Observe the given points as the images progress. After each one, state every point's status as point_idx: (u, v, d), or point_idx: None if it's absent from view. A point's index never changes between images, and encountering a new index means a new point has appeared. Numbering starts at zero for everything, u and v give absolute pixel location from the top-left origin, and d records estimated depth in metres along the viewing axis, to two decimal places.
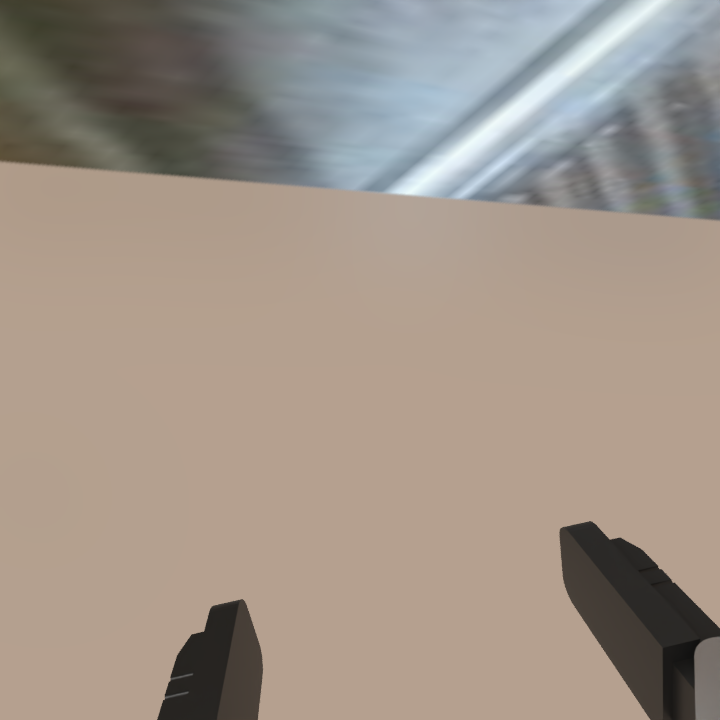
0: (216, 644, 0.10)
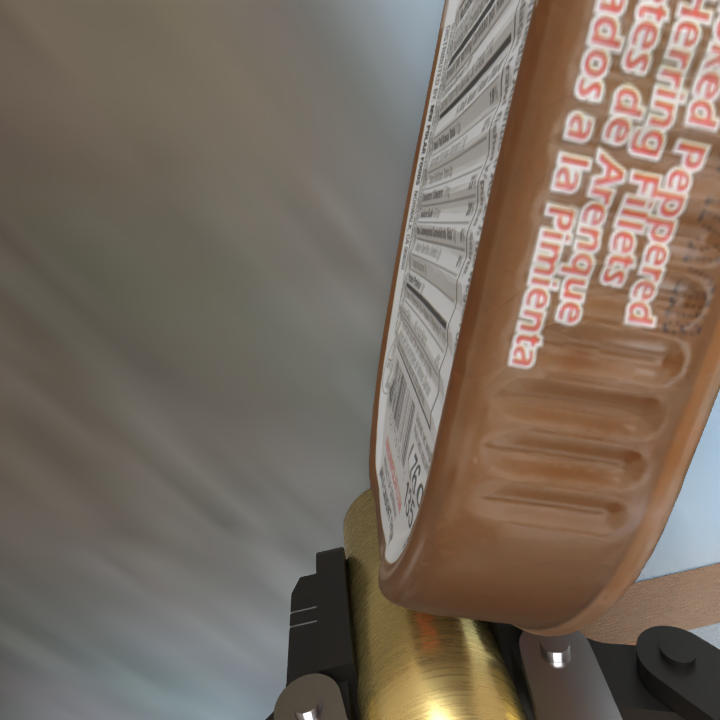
0: (331, 581, 0.11)
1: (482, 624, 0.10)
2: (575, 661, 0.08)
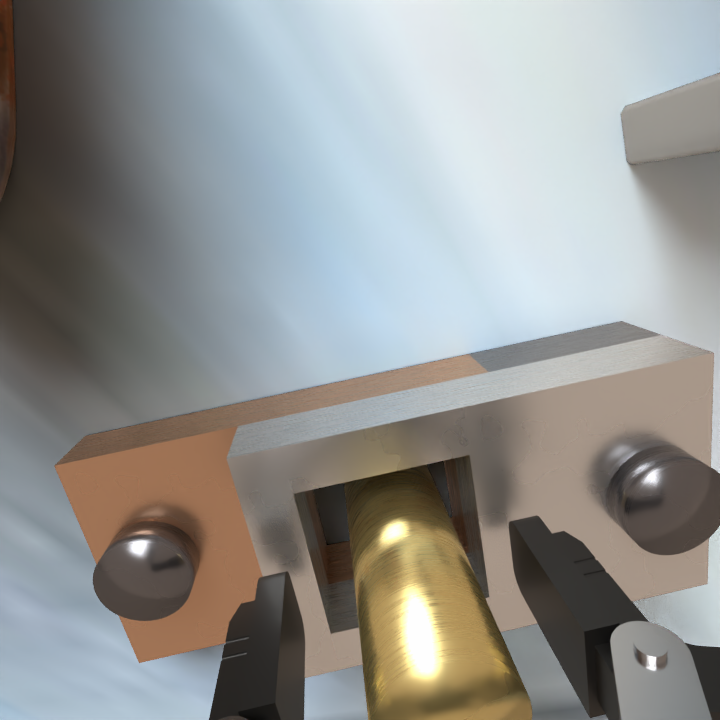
0: (268, 610, 0.11)
1: (450, 530, 0.13)
2: (675, 665, 0.08)
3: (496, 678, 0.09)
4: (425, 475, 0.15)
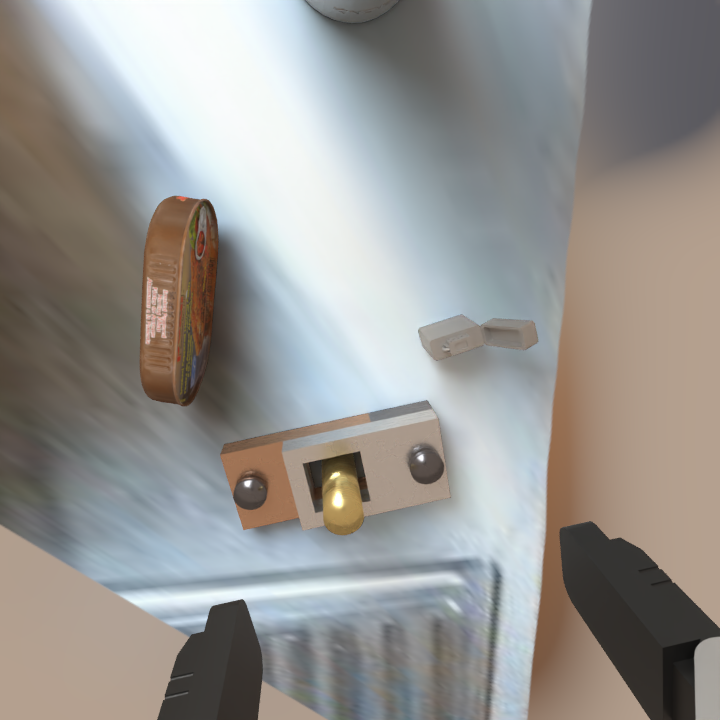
0: (216, 644, 0.10)
1: (353, 474, 0.39)
2: None
3: (353, 504, 0.35)
4: (349, 458, 0.42)
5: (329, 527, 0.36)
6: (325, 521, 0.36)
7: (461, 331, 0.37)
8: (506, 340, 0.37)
